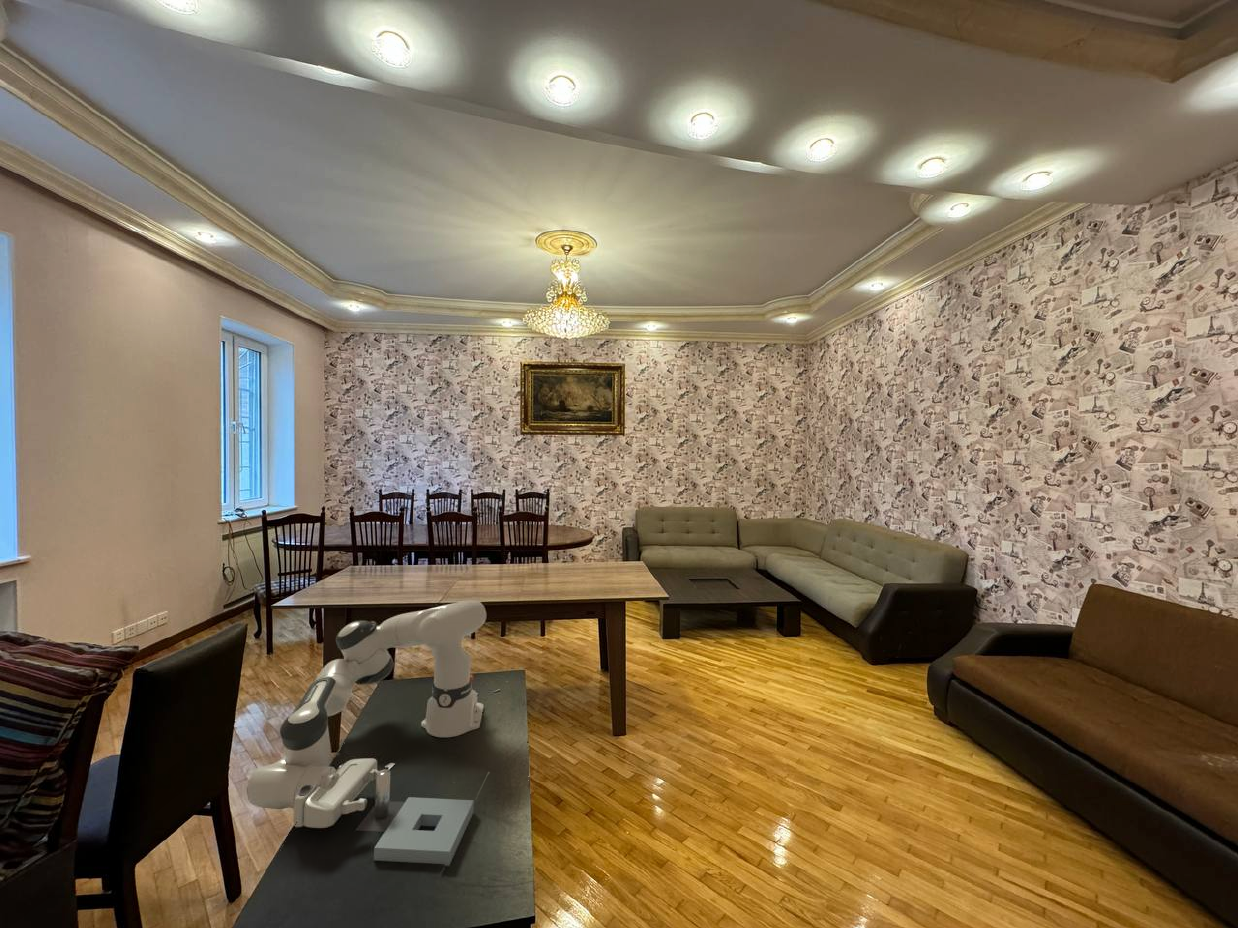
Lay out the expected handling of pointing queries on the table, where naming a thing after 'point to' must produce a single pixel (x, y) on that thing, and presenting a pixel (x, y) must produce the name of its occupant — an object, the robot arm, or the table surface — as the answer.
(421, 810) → the grey square hole board
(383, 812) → the steel pin
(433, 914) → the table surface
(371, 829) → the rubber mat
